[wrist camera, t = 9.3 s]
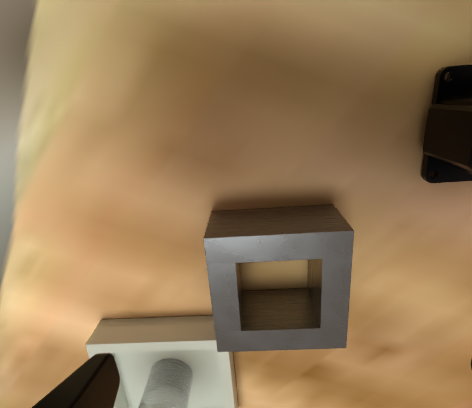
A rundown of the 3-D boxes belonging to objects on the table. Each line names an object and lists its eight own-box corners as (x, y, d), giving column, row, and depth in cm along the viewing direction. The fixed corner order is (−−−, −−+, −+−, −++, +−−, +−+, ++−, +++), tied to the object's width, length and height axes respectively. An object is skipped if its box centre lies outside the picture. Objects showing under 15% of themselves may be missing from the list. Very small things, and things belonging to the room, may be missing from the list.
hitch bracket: (333, 204, 20) (353, 230, 16) (329, 305, 22) (346, 347, 19) (211, 211, 20) (203, 238, 16) (222, 309, 23) (217, 352, 19)
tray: (229, 314, 23) (227, 339, 21) (238, 407, 26) (237, 438, 24) (101, 319, 24) (85, 344, 21) (126, 409, 27) (115, 439, 25)
